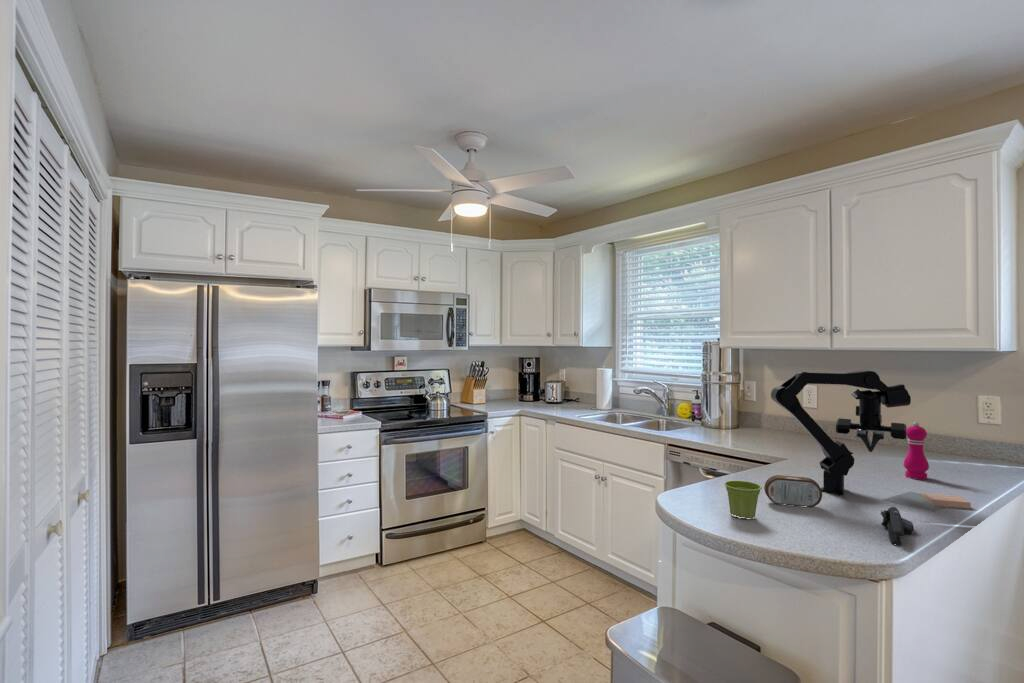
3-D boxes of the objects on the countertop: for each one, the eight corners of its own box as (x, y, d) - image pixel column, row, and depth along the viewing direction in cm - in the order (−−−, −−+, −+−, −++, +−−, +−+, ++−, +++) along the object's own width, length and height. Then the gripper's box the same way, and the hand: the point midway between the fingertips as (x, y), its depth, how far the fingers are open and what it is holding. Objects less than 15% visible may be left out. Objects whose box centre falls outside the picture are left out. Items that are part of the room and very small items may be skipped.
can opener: (880, 523, 139) (880, 502, 140) (913, 529, 135) (913, 507, 135) (877, 543, 125) (877, 520, 125) (914, 550, 121) (914, 526, 121)
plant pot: (769, 518, 142) (769, 486, 142) (746, 524, 138) (746, 491, 138) (739, 509, 151) (739, 479, 151) (716, 514, 146) (717, 483, 146)
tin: (820, 506, 154) (820, 477, 154) (823, 509, 151) (823, 480, 151) (764, 501, 159) (764, 473, 159) (765, 504, 156) (765, 475, 156)
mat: (933, 513, 148) (933, 511, 148) (882, 501, 159) (882, 499, 159) (960, 503, 157) (960, 501, 157) (909, 493, 168) (909, 491, 168)
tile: (933, 499, 153) (970, 502, 150) (922, 493, 159) (957, 495, 157) (933, 505, 153) (970, 508, 150) (922, 499, 159) (957, 501, 157)
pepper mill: (925, 476, 190) (925, 421, 191) (931, 480, 184) (931, 423, 184) (901, 474, 193) (901, 419, 194) (906, 478, 187) (906, 422, 187)
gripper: (906, 399, 169) (906, 442, 173) (838, 395, 180) (839, 436, 185) (906, 415, 161) (906, 460, 165) (835, 410, 172) (836, 452, 176)
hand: (870, 451), depth 173 cm, fingers closed
